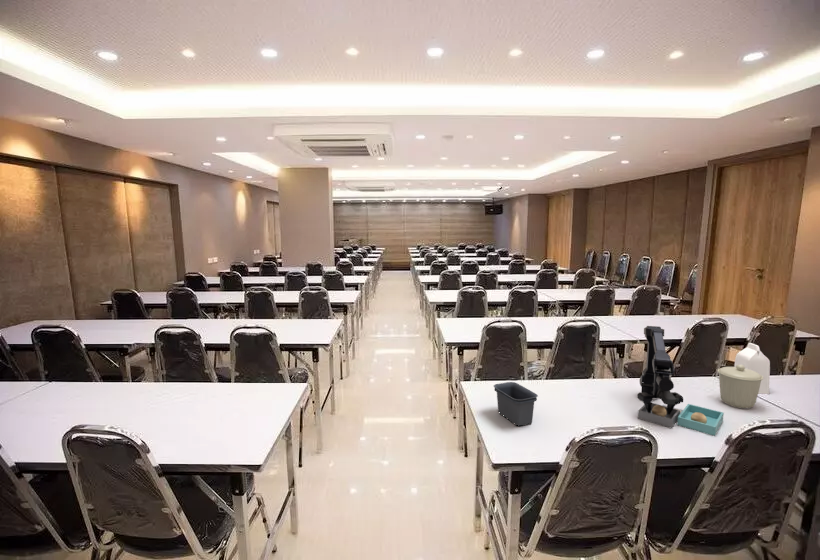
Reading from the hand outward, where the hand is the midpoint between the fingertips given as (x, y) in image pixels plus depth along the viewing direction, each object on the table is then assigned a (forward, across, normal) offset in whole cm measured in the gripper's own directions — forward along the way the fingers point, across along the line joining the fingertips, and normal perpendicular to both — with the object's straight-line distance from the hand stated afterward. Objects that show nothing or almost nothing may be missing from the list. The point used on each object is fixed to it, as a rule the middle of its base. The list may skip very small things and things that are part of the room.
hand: (659, 414), depth 191 cm
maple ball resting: (-1, +13, -8) cm, 15 cm away
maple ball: (-1, 0, 0) cm, 1 cm away
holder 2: (+2, +16, -5) cm, 17 cm away
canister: (+2, +49, +15) cm, 51 cm away
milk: (+2, +71, +34) cm, 78 cm away
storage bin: (+2, -68, +1) cm, 68 cm away
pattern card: (+2, +11, +8) cm, 14 cm away
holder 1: (+2, 0, 0) cm, 2 cm away
